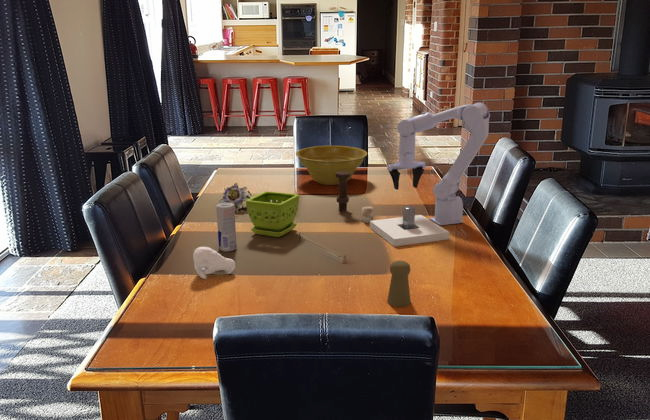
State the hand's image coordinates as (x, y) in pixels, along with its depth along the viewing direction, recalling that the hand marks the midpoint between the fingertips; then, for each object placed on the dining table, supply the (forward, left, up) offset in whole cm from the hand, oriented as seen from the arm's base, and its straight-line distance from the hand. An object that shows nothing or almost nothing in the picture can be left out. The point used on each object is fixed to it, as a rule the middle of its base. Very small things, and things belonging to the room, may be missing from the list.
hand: (405, 188), depth 222 cm
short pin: (+16, +2, -10) cm, 19 cm away
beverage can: (+69, +13, -11) cm, 71 cm away
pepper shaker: (+34, +66, -11) cm, 75 cm away
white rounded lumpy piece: (+76, +32, -11) cm, 83 cm away
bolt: (+20, -13, -11) cm, 26 cm away
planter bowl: (+9, -57, -11) cm, 59 cm away
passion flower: (+57, -31, -11) cm, 66 cm away
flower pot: (+51, +2, -11) cm, 52 cm away
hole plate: (+8, +19, -10) cm, 23 cm away
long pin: (+8, +19, -10) cm, 23 cm away
